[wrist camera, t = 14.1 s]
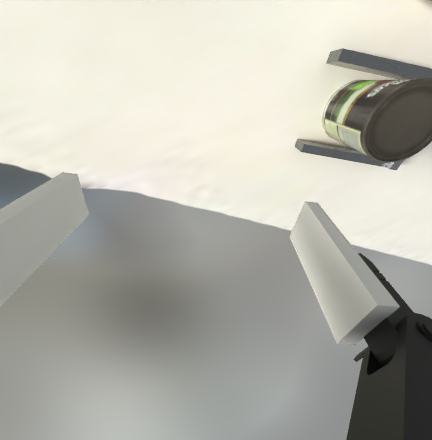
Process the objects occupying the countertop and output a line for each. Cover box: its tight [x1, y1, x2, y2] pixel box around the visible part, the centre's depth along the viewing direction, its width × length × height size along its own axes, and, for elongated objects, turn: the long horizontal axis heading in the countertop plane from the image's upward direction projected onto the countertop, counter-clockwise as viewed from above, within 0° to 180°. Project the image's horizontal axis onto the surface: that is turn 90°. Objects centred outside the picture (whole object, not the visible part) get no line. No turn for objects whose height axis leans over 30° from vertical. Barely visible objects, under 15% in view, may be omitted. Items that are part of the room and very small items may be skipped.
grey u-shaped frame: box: [295, 49, 432, 170], centre depth 36 cm, size 16×20×5 cm
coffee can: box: [323, 78, 432, 163], centre depth 32 cm, size 10×10×14 cm
